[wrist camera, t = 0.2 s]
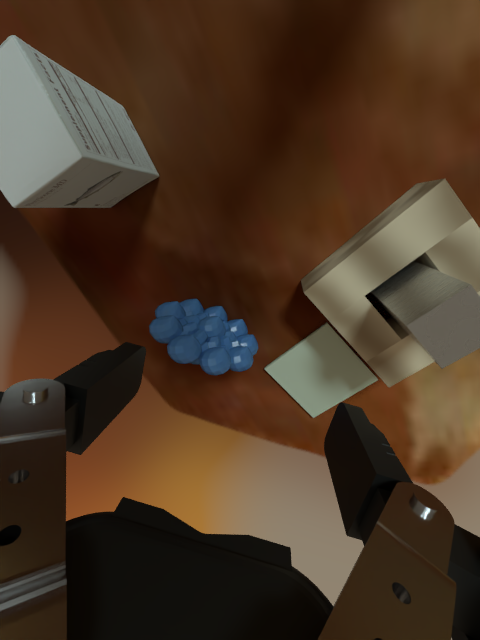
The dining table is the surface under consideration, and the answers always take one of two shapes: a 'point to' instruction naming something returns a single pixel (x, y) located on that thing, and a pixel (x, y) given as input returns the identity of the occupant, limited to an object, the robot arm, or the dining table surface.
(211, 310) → the grapes
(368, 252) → the holder
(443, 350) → the peg
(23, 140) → the supplement box
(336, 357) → the mat
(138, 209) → the dining table surface
